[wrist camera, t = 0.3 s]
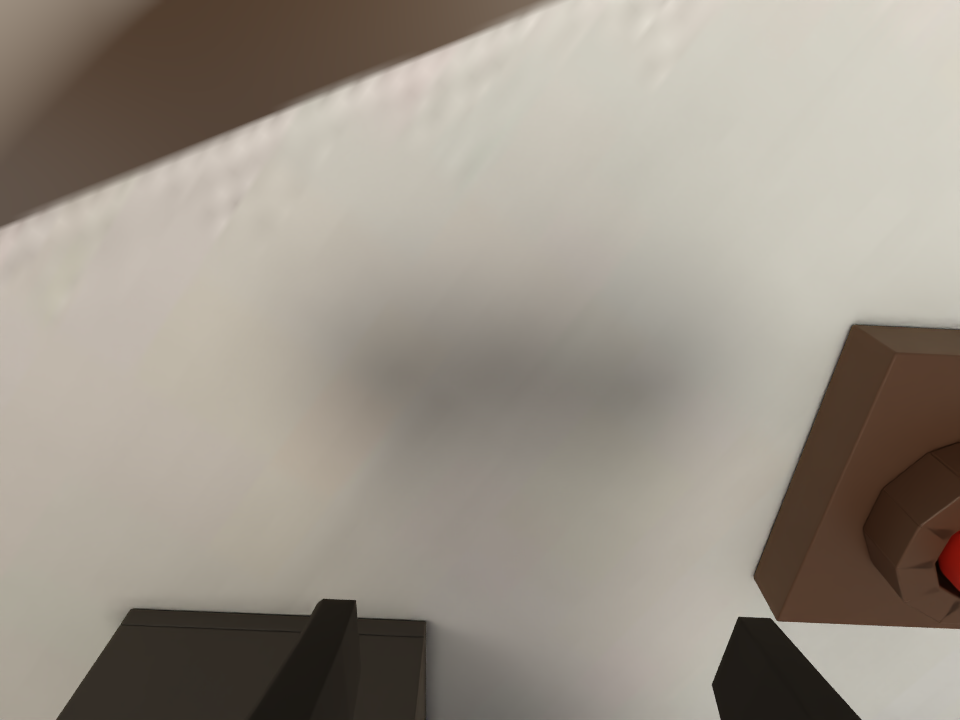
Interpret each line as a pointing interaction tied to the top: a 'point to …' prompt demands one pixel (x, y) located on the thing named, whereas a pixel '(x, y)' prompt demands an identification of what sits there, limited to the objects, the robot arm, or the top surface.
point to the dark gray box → (237, 667)
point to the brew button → (951, 560)
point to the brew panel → (874, 489)
